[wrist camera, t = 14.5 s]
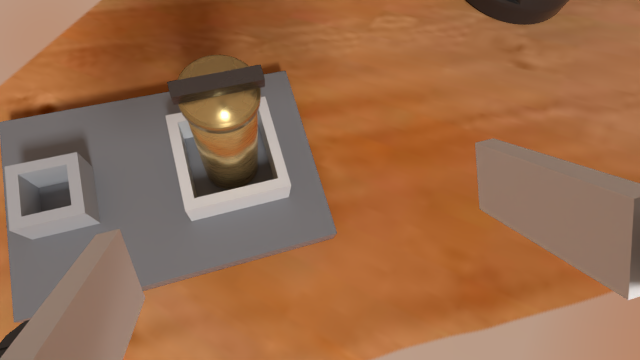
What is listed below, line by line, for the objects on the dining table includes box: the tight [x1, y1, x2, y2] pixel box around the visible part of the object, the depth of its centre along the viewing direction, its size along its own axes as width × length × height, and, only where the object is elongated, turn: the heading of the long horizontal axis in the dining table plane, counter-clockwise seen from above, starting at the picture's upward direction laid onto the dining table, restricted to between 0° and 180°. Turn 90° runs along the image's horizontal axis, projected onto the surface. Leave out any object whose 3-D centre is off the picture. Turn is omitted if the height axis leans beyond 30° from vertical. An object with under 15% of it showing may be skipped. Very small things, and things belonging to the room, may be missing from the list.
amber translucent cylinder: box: [167, 55, 265, 189], centre depth 29 cm, size 5×5×13 cm
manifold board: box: [0, 71, 337, 322], centre depth 33 cm, size 24×16×5 cm, turn 107°
